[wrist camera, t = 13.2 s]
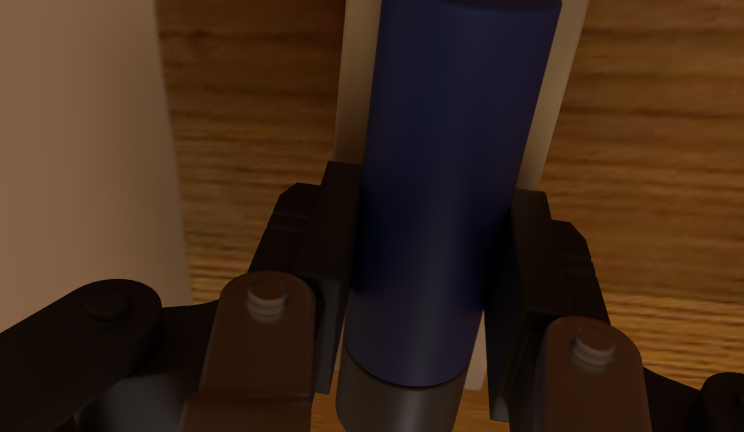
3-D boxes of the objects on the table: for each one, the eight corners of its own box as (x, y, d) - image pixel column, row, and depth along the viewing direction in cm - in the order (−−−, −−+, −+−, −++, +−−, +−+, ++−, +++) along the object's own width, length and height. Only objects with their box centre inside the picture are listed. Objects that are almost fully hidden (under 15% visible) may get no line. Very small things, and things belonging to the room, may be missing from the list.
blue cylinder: (393, -48, 11) (375, -8, 9) (553, -26, 11) (575, 21, 9) (344, 356, 16) (325, 446, 14) (455, 374, 16) (453, 469, 14)
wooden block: (402, -147, 21) (353, -87, 11) (531, -130, 21) (606, -52, 11) (367, 144, 26) (313, 367, 16) (470, 159, 26) (481, 393, 16)
